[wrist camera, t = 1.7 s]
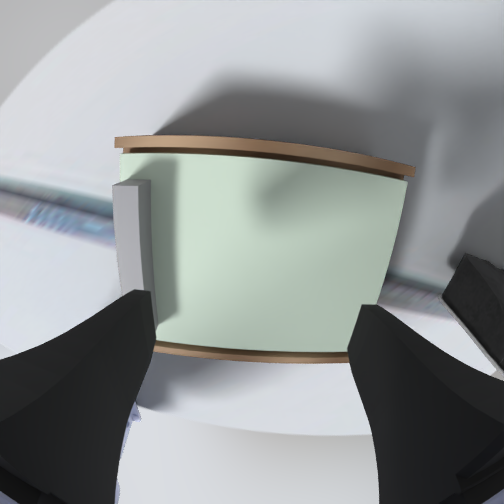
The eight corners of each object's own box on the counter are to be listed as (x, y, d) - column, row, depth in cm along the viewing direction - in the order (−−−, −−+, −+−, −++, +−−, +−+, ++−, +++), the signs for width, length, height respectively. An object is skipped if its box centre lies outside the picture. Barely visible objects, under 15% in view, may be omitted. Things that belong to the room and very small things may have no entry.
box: (372, 156, 16) (415, 167, 12) (338, 314, 21) (358, 362, 16) (152, 135, 16) (114, 137, 11) (156, 301, 21) (133, 348, 16)
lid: (402, 179, 13) (424, 188, 11) (356, 345, 17) (366, 368, 15) (125, 152, 12) (103, 157, 10) (138, 330, 16) (127, 354, 14)
